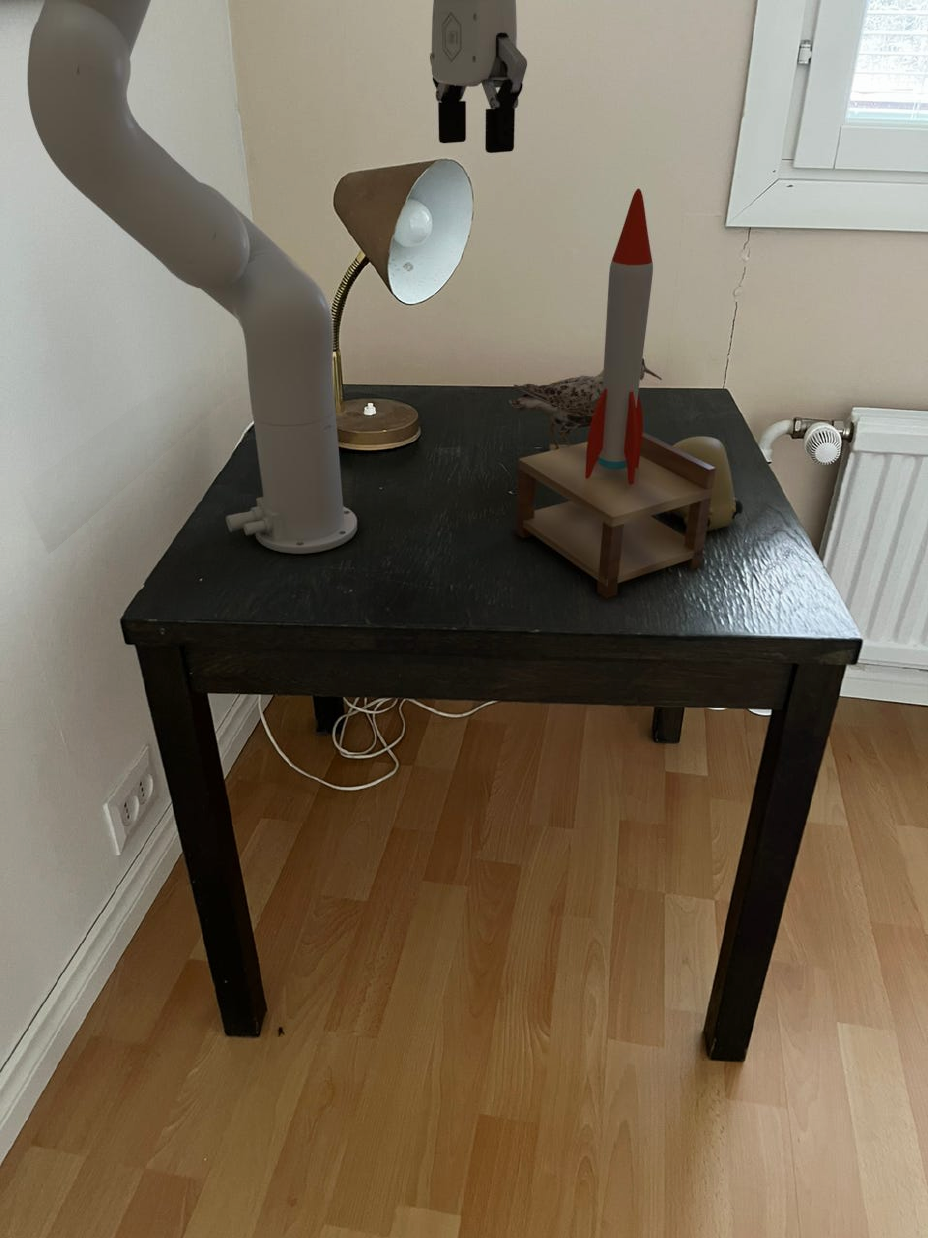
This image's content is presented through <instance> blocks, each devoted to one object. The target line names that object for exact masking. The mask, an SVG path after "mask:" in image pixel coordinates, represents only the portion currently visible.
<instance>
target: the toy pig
mask: <svg viewBox="0 0 928 1238" xmlns="http://www.w3.org/2000/svg"><path fill="white" fill-rule="evenodd" d="M671 446H672V447H674V448H677V449H679V450H681V451H683V452H685V453H687V454H689V455H691V456H693V457H695V458H697V459H699V460H701V461H703V462H705V463H707V464H709V465H711V466H713V467H715V468H716V471H715V477H714V484H713V490H712V497H711V503H710V509H709V516H708V523H707V529H706V532H711V531H715V530H719V529H722V528H725V527H727V526H729V525H731V524H732V523H733V522H734V521H735V519H737V518H739V517H740V516H741V514H742V513H743V510H744V506H743V503H742V501H741V500H740V499H738V498H737V497H735V494H734V493H735V492H734V484H733V480H732V474H731V469H730V464H729V460H728V459H729V458H728V456H727V455H728V454H727V452H726V448H725V446H724V444H723V442H721V441H720V440H719V439H717V438H715V437H710V436H693V437H688V438H685V439H682V440H680V441H678V442H676V443H675V444H673V445H671ZM689 508H690V504H689V505H685V506H682V507H679V508H675V509H672V510H669V511H670V512H671V513H672V514H674V515H675V516H677V517H680V518H682V519H683V524H684V525H685V527H687V523H688V516H689Z"/></svg>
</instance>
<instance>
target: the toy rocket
mask: <svg viewBox="0 0 928 1238" xmlns="http://www.w3.org/2000/svg"><path fill="white" fill-rule="evenodd" d="M647 223H648V222H647V217H646V208H645V201H644V196H643V193H642V190H641V189H640V188H639V187H638V188H637V189H636V190H635V191H634V193H633V196H632V198H631V201H630V204H629V207H628V210H627V213H626V216H625V220H624V223H623V226H622V229H621V232H620V236H619V238H618V241H617V245H616V247H615V250H614V253H613V255H612V259H611V261H610V265H609V273H608V286H607V302H606V303H607V304H606V305H607V306H606V320H605V337H604V338H605V339H604V353H603V354H604V356H603V370H604V371H603V370H602V371H603V389H602V395H601V397H600V399H599V401H598V403H597V405H596V408H595V411H594V414H593V417H592V420H591V425H590V426H589V430H588V434H587V441H586V442H587V451H586V472H585V478H587V479H588V478H589V477H590V476H591V474H592V471H593V468H594V465H595V463H596V461H598V462H599V464H600V465H601V466H603V467H605V468H608V469H622V468H626V467H627V473H628V481H629V483H630V485H631V484H633V483H634V475H635V467H639V459H640V452H641V444H642V433H643V432H644V431H643V430H644V419H643V417H644V414H643V408H642V401H641V397H640V394H639V390H640V381H641V380H640V374H641V366H642V358H643V359H644V349H645V341H646V334H647V333H646V332H647V324H648V316H649V308H650V300H651V293H652V285H653V275H654V263H653V256H652V251H651V244H650V239H649V231H648V224H647Z"/></svg>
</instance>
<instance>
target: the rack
mask: <svg viewBox="0 0 928 1238" xmlns="http://www.w3.org/2000/svg"><path fill="white" fill-rule="evenodd" d="M587 442H588V441H585V442H581V443H577V444H571V445H572V446H568V447H564V448H560V449H556V450H552V451H549V450H547V451H544V452H539V453H536V454H532V455H527V456H523V457H520V458H519V457H518V459H517V460H518V461H517V464H518V465H517V492H516V495H517V497H516V528H515V534H516V535H518V536H519V537H520V538H521V539H526V538H530V537H533V536H534V537H536V538H537V539H539V540H540V541H541V542H543V543H544V544H545V545H547V546H549V547H550V548H552V549H553V550H554V551H556V552H557V553H558V554H560V555H561V556H562V557H564V558H565V559H566V560H568V561H569V562H571V563H572V564H574V565H575V566H577V567H578V568H580V569H581V570H582V571H584V572H585V573H587V574H588V575H589V576H591V577H592V578H593V579H595V580H596V581H597V589H596V592H597V594H599V595H600V596H601V597H603V598H604V599H608V598H611V597H615V596H617V594H618V586H619V583H622V582H626V581H629V580H632V579H635V578H638V577H640V576H644V575H647V574H649V573H653V572H656V571H659V570H662V569H665V568H667V567H671V566H674V565H676V564H680V563H681V565H682V566H684V567H685V568H687V569H689V570H694V569H697V568H700V567H702V562H703V561H702V560H703V554H704V548H705V543H706V542H705V541H706V534H707V531H706V529H707V523H708V516H709V509H710V503H711V497H712V490H713V484H714V477H715V471H716V468H715V467H713V466H711V465H709V464H707V463H705V462H703V461H701V460H699V459H697V458H695V457H693V456H691V455H689V454H687V453H685V452H683V451H681V450H679V449H677V448H674V447H672V446H673V445H670V444H669V443H666V442H665V441H662V440H661V439H658V438H657V437H655V436H653V435H650V434H648V433H646V432H644V431H643V433H642V444H641V452H640V459H639V467H635V475H634V483H633V484H631V485H630V483H629V481H628V473H627V467H626V468H622V469H608V468H605V467H603V466H601V465H600V464H599V462H598V461H596V463H595V465H594V468H593V471H592V474H591V476H590V477H589V478H588V479H587V478H585V472H586V451H587ZM537 481H538V482H540V483H541V484H542V485H545V486H546V487H547V488H549V489H551V490H552V491H554V492H555V493H557V494H558V495H560V496H562V497H563V498H565V499H567V500H568V501H565V502H561V503H558V504H554V505H550V506H546V507H543V508H540V509H536V488H537V487H536V485H537ZM689 504H690V508H689V516H688V523H687V526H686V531H685V535H683V534H681V533H680V532H678V531H676V530H675V529H673V528H671V527H669V526H668V525H666V524H664V523H662V522H661V521H660V520H658V519H656V518H654V517H653V516H655V515H658V514H662V513H665V512H669V511H670V510H672V509H675V508H679V507H682V506H685V505H689Z"/></svg>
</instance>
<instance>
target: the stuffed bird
mask: <svg viewBox="0 0 928 1238" xmlns="http://www.w3.org/2000/svg"><path fill="white" fill-rule="evenodd" d="M603 371H604V369H602V370H601V371H600V373H599V374H597V375H594V376H593V375H580V376H576V377H575V376H574V377H569V378H565V379H562V380H559V381H555V382H552V383H550V384H541V385H538V384H534V383H524V384H522V385H521V384H520V385H519V384H518V385H517V384H513V387H514V388H516V391H518V392H521V393H524V394H522V395H521V396H520V397H519V398H517V399H515V400H513V399H509V404H510V406H512V408H513V409H514V410H515V411H516V412H517V413H519V412H520V411H524V410H532V411H536V412H539V413H542V414H546V416H547V417H548V419H549V420H550V421H551V422H552V423H551V424H550V425H549V431H550V434H551V436H552V440H553V442H554V444H553V443H550V444H549V447H548V448H549V449H548V451H552V450H556V449H560V448H564V447H568V446H572V445H573V444H571V443H570V441H568V438H567V437H568V435H570V434H573V432H572V430H576V429H580V428H586V427H590V425H591V420H592V417H593V414H594V411H595V408H596V405H597V403H598V401H599V399H600V397H601V395H602V389H603ZM645 373H646V374H649V375H651V376H652V377H655V378H656V379H659V380H660V381H663V378H662V377H660V376H659V375H657V374H656V373H654V372H653V371H651V370H650V369H649V368H647V366H646V364H645V359H644V357H643V358H642V366H641V374H640V381H643V379H644V377H645ZM555 426H557V427H559V429H558V430H557V431H556V433H555V432H554V427H555ZM555 434H556V435H557V434H558V435H559V438H560V437H561V438H562V440H563V442H564V443H565V444H558V441H557V438H556V435H555Z"/></svg>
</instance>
